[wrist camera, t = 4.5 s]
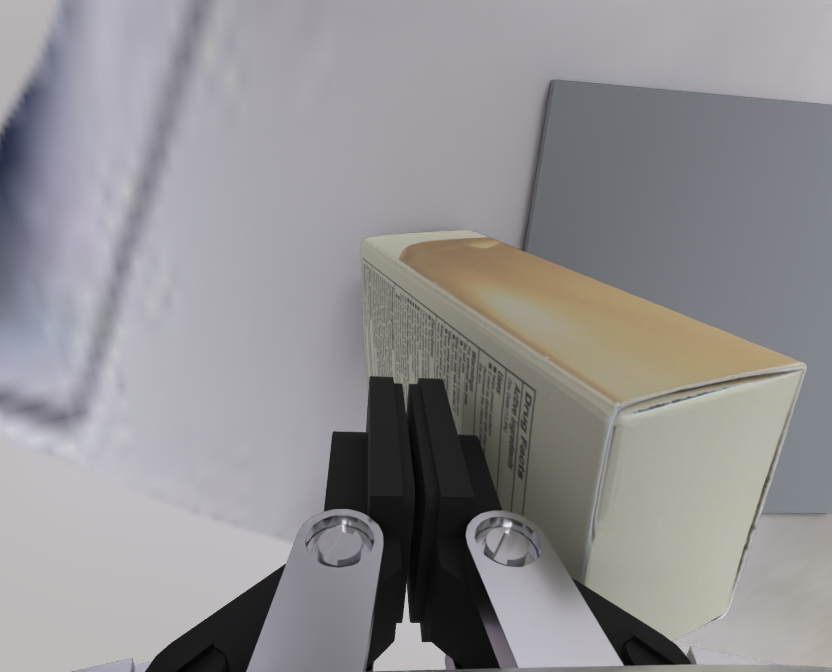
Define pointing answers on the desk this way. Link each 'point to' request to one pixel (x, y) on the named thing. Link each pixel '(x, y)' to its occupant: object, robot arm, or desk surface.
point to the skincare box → (591, 413)
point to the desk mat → (705, 230)
